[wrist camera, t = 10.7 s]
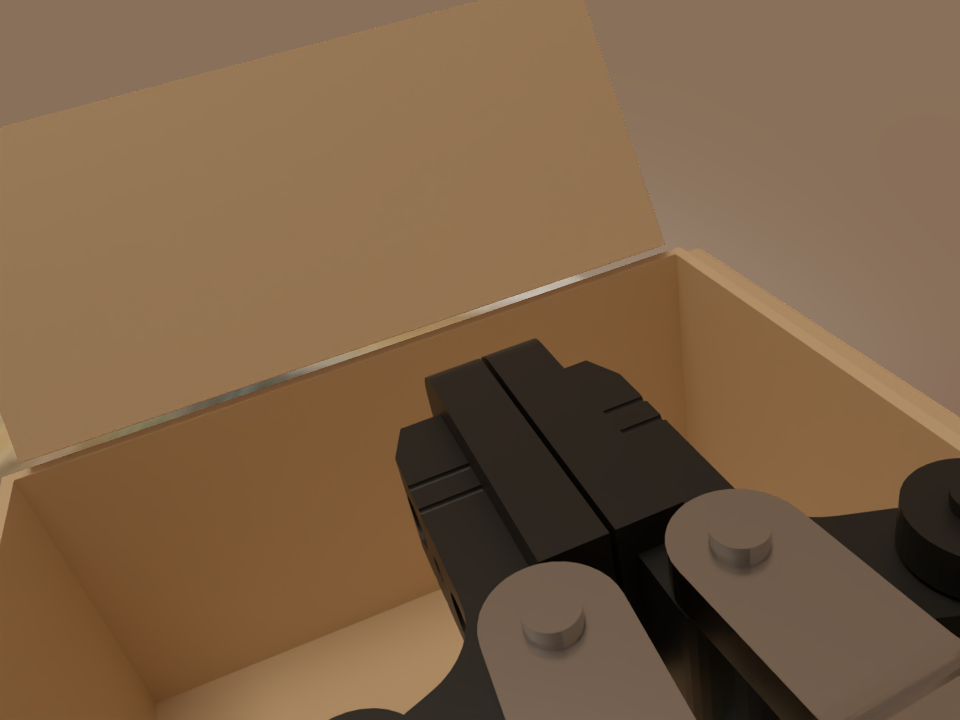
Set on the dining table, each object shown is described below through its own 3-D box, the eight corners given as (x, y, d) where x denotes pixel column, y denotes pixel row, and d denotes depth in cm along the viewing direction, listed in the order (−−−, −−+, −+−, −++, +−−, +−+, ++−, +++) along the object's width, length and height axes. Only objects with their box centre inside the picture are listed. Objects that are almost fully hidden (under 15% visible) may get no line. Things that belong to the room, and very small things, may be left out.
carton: (134, 1595, 16) (-295, 1551, 9) (139, 713, 33) (-15, 482, 26) (1165, 979, 21) (1347, 670, 14) (704, 486, 37) (691, 242, 31)
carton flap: (-95, 152, 26) (-86, 157, 26) (18, 463, 26) (25, 461, 27) (575, -25, 30) (570, -18, 30) (665, 244, 30) (658, 247, 31)
